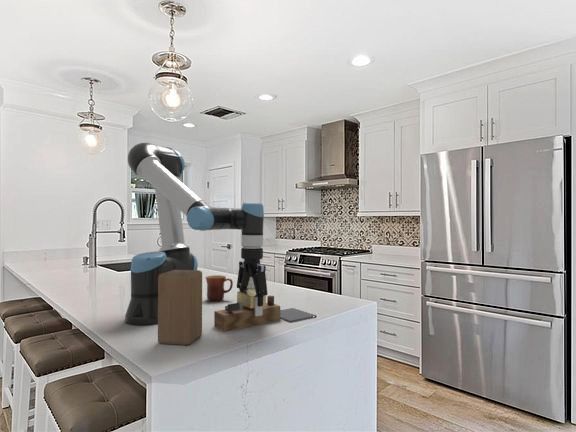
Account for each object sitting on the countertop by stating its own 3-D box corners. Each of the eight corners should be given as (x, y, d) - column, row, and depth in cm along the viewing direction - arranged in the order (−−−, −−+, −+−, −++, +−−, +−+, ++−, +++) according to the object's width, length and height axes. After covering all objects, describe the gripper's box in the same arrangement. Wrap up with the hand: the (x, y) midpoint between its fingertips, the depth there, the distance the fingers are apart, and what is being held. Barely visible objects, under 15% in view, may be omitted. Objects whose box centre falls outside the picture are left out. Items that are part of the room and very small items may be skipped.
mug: (202, 302, 158) (202, 278, 158) (208, 297, 167) (209, 275, 167) (230, 302, 157) (230, 278, 157) (234, 298, 166) (235, 275, 166)
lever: (225, 312, 122) (238, 310, 115) (224, 305, 123) (237, 302, 116) (230, 311, 123) (244, 309, 116) (229, 304, 124) (243, 301, 117)
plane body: (224, 331, 117) (224, 306, 117) (214, 326, 123) (214, 302, 123) (280, 320, 131) (280, 297, 131) (269, 315, 136) (269, 294, 136)
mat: (290, 322, 128) (290, 320, 128) (267, 314, 139) (267, 312, 139) (316, 317, 135) (316, 315, 135) (292, 309, 146) (292, 307, 146)
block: (156, 344, 105) (156, 274, 105) (172, 333, 115) (172, 269, 115) (189, 346, 104) (189, 274, 104) (203, 335, 113) (203, 270, 114)
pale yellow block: (250, 308, 122) (250, 296, 122) (237, 303, 130) (237, 291, 130) (265, 306, 126) (265, 294, 126) (251, 300, 133) (251, 289, 133)
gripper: (279, 249, 121) (278, 318, 121) (245, 244, 139) (244, 304, 139) (260, 250, 117) (258, 321, 117) (227, 245, 134) (226, 307, 134)
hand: (250, 312), depth 128 cm, fingers closed on pale yellow block, 9 cm apart
